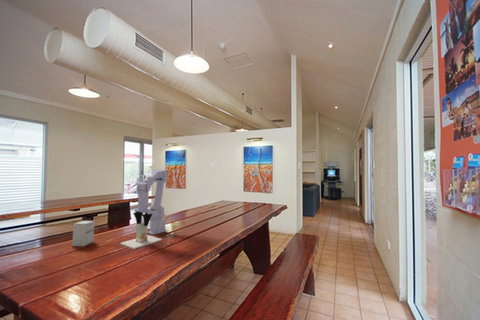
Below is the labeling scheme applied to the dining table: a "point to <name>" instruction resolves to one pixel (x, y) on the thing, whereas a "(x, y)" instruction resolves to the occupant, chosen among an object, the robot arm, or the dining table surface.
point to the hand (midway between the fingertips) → (142, 224)
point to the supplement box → (83, 233)
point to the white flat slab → (135, 244)
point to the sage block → (141, 228)
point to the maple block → (141, 237)
